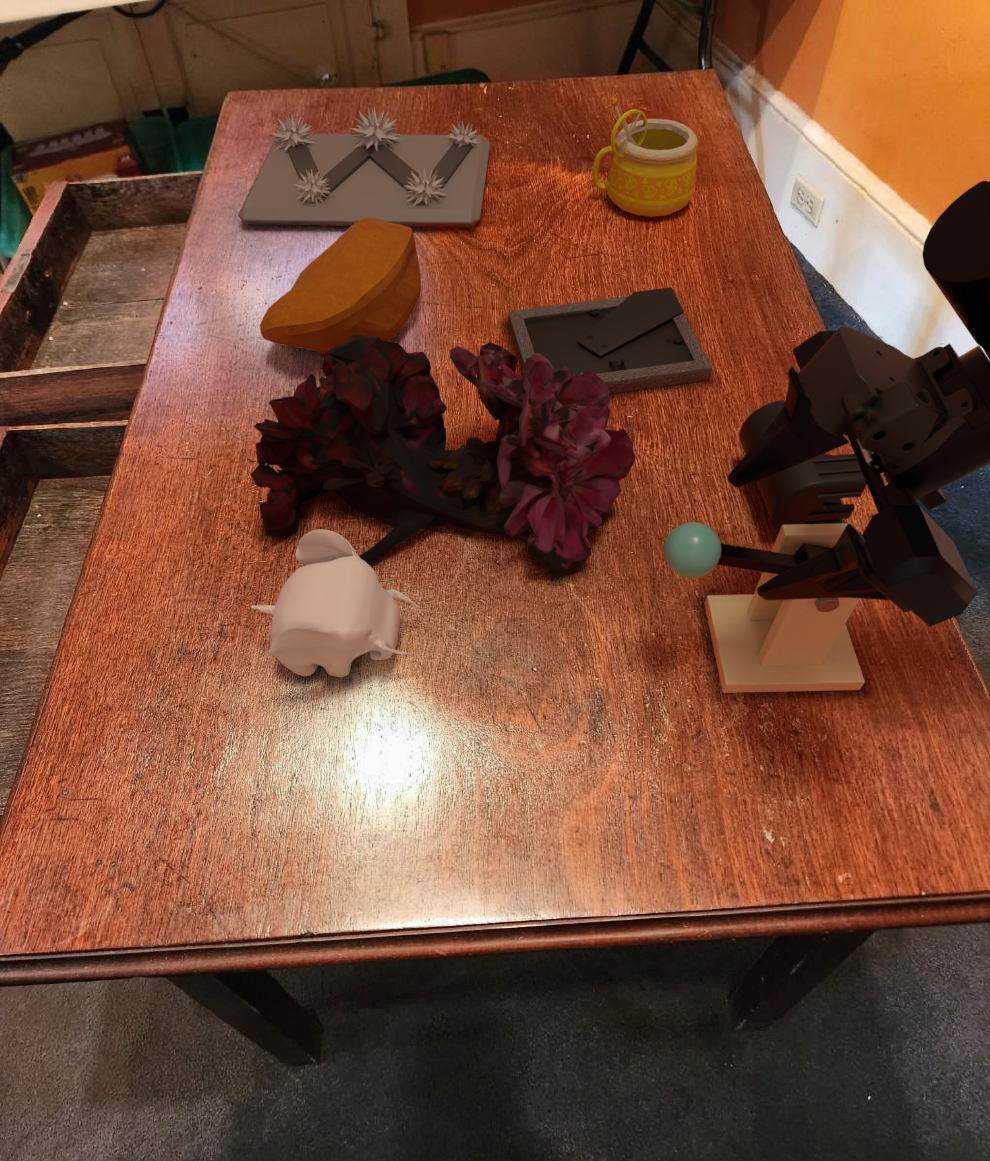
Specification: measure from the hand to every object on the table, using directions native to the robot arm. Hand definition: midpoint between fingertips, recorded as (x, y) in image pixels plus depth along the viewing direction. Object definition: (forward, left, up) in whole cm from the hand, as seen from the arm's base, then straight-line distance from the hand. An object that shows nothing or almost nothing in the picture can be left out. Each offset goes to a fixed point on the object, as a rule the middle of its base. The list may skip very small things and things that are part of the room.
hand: (745, 535), depth 50 cm
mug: (+9, -66, -13) cm, 68 cm away
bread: (+39, -36, -13) cm, 54 cm away
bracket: (-5, -1, -13) cm, 14 cm away
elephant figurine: (+28, +4, -13) cm, 31 cm away
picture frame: (+11, -35, -13) cm, 39 cm away
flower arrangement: (+23, -13, -13) cm, 29 cm away
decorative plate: (+44, -65, -13) cm, 79 cm away
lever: (-1, 0, -4) cm, 4 cm away
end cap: (-7, -17, -13) cm, 23 cm away
